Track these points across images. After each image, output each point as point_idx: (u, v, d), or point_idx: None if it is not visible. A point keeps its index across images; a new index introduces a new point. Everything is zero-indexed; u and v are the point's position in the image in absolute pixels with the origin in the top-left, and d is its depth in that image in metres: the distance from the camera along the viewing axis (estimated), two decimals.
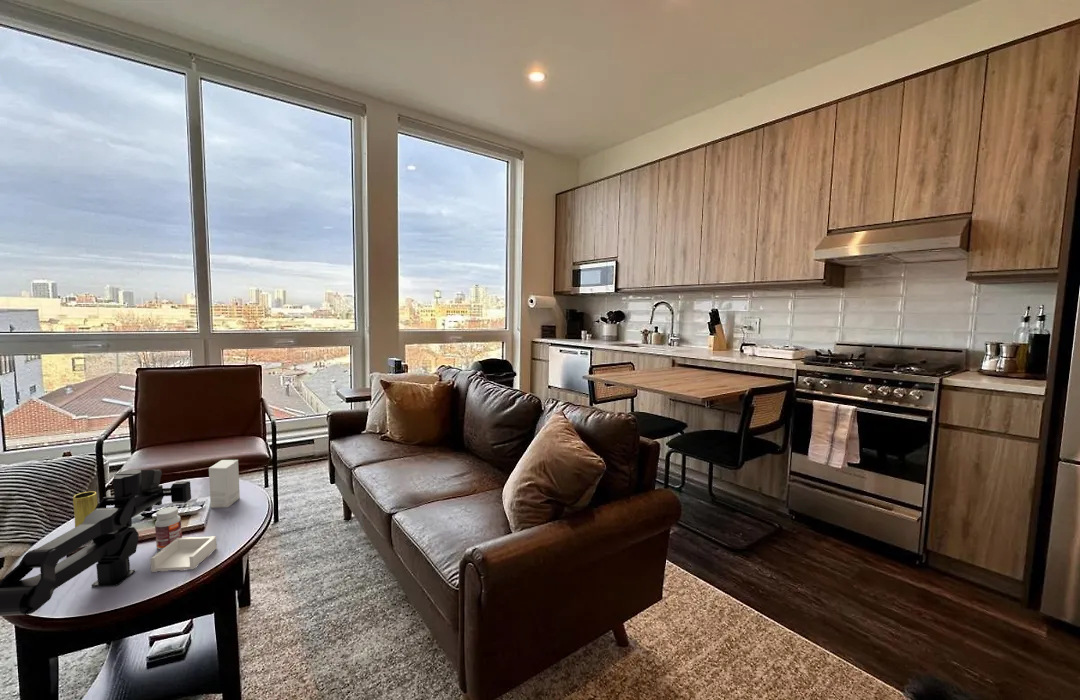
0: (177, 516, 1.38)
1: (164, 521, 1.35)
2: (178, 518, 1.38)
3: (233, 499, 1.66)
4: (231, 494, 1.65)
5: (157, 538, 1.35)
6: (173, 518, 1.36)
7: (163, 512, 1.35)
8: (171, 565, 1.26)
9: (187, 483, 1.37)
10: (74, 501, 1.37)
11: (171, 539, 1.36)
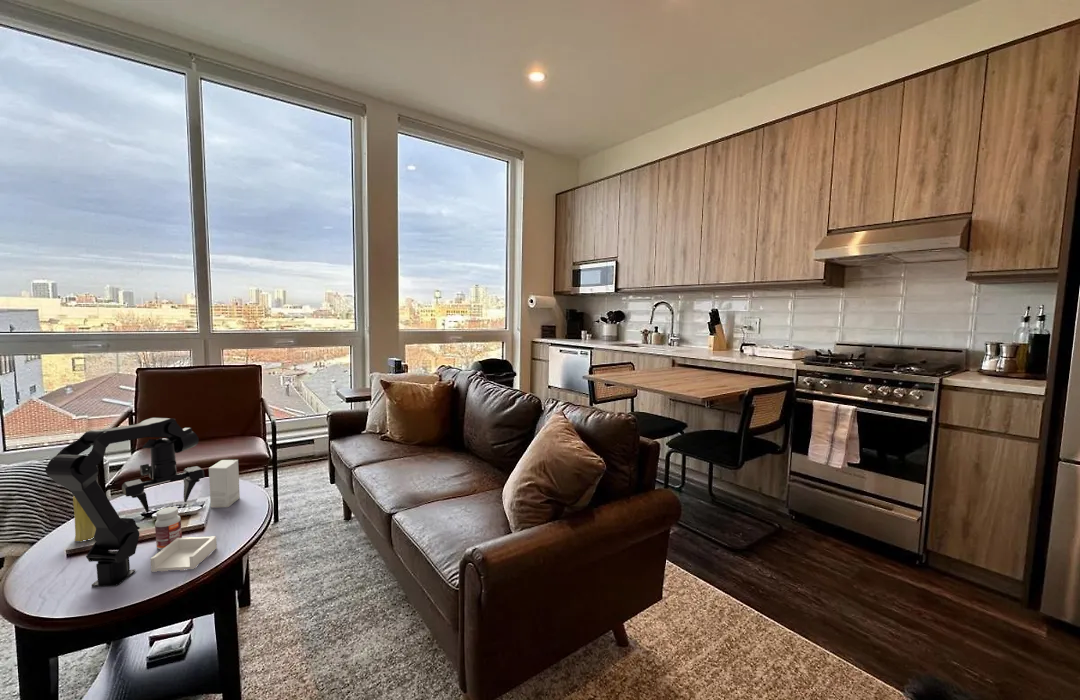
0: (177, 516, 1.38)
1: (164, 521, 1.35)
2: (178, 518, 1.38)
3: (233, 499, 1.66)
4: (231, 494, 1.65)
5: (157, 538, 1.35)
6: (173, 518, 1.36)
7: (163, 512, 1.35)
8: (171, 565, 1.26)
9: None
10: (74, 501, 1.37)
11: (171, 539, 1.36)
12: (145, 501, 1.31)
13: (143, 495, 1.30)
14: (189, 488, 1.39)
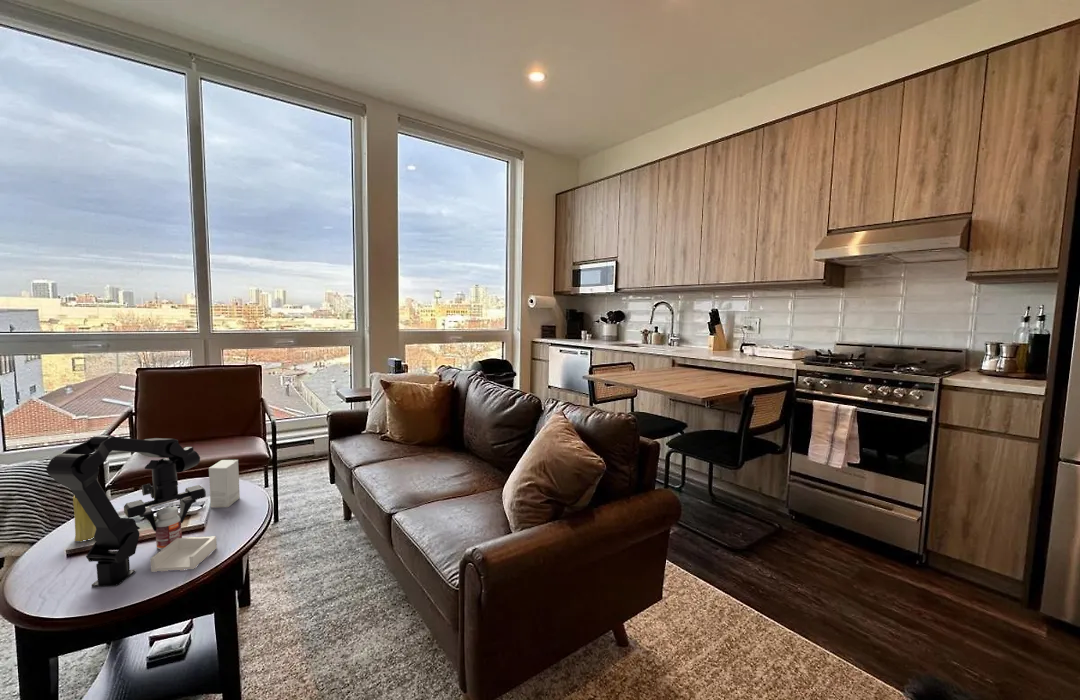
0: (177, 516, 1.38)
1: (164, 521, 1.35)
2: (178, 518, 1.38)
3: (233, 499, 1.66)
4: (231, 494, 1.65)
5: (157, 538, 1.35)
6: (173, 518, 1.36)
7: (163, 512, 1.35)
8: (171, 565, 1.26)
9: None
10: (74, 501, 1.37)
11: (171, 539, 1.36)
12: (153, 520, 1.32)
13: (151, 514, 1.31)
14: (185, 509, 1.39)
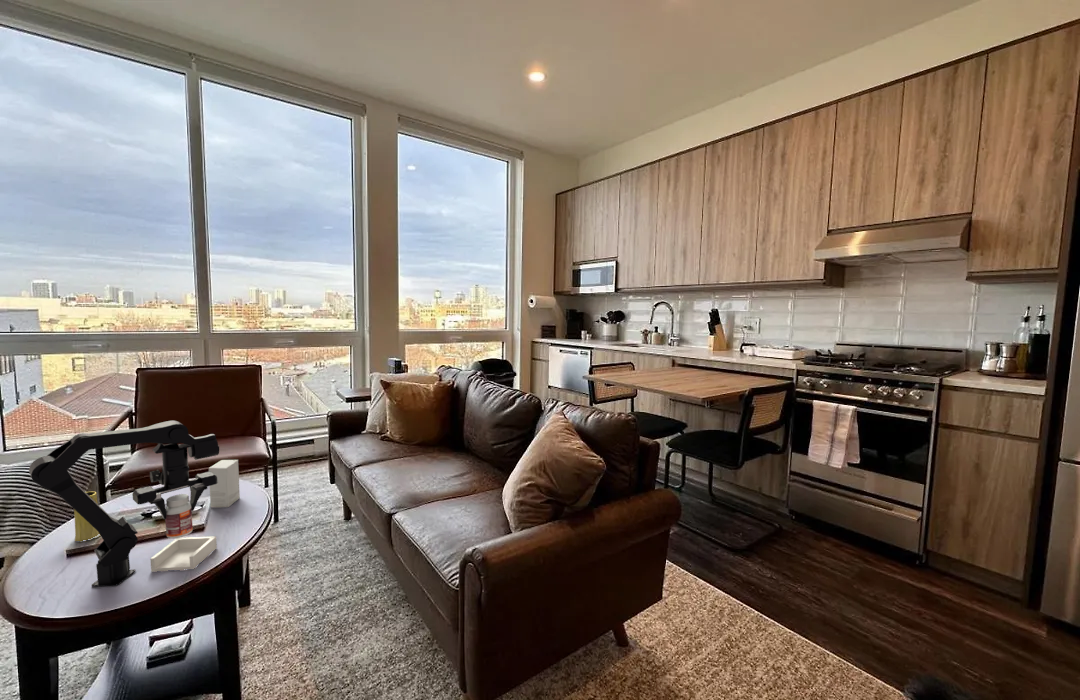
0: (188, 503, 1.32)
1: (175, 508, 1.28)
2: (189, 505, 1.32)
3: (233, 499, 1.66)
4: (231, 494, 1.65)
5: (167, 526, 1.28)
6: (184, 505, 1.30)
7: (174, 499, 1.29)
8: (171, 565, 1.26)
9: None
10: None
11: (182, 528, 1.29)
12: (163, 507, 1.26)
13: (161, 501, 1.25)
14: (196, 496, 1.32)
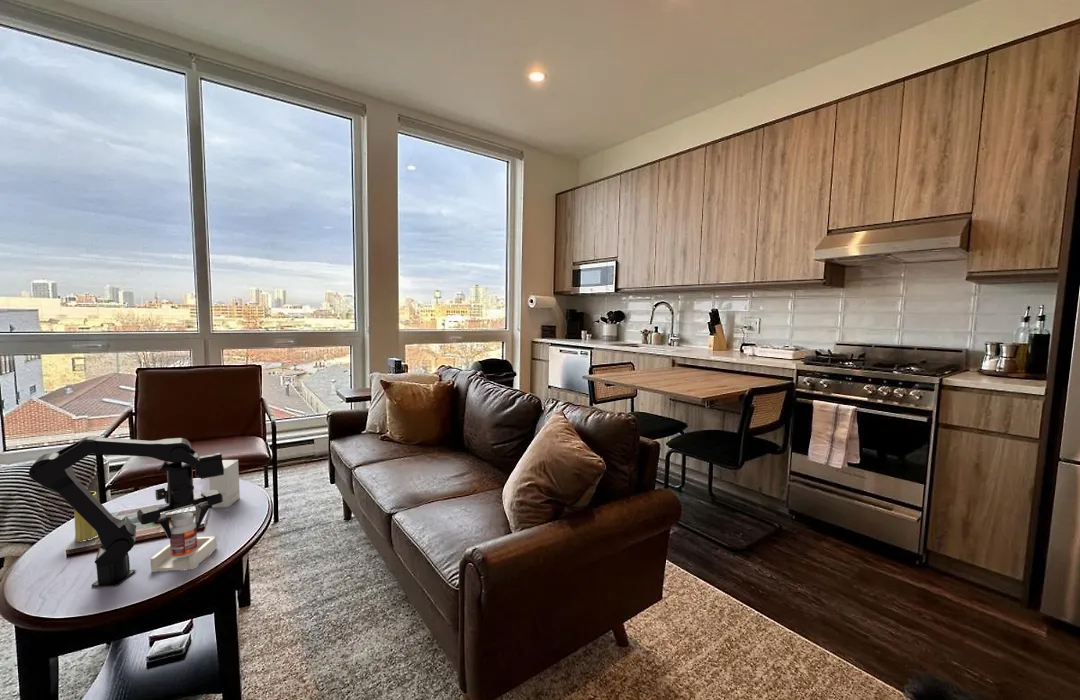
0: (193, 522, 1.30)
1: (179, 528, 1.27)
2: (194, 524, 1.30)
3: (233, 499, 1.66)
4: (231, 494, 1.65)
5: (172, 546, 1.27)
6: (188, 524, 1.29)
7: (178, 519, 1.27)
8: (171, 565, 1.26)
9: None
10: None
11: (186, 547, 1.28)
12: (167, 527, 1.25)
13: (165, 521, 1.24)
14: (201, 515, 1.31)
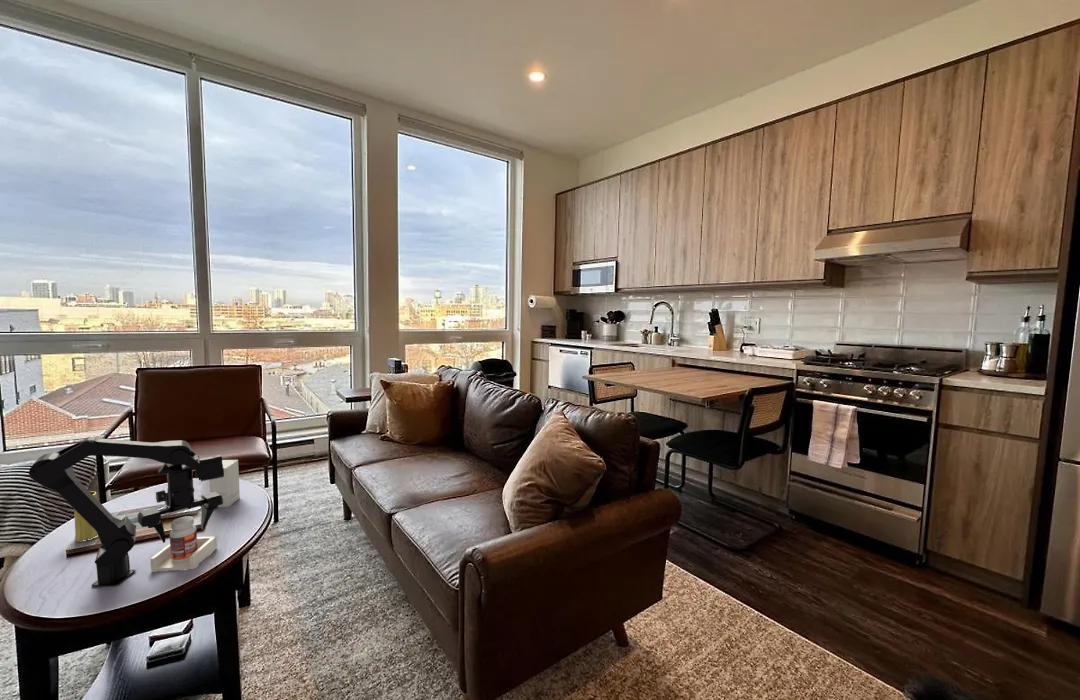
0: (193, 526, 1.30)
1: (179, 532, 1.27)
2: (194, 528, 1.30)
3: (233, 499, 1.66)
4: (231, 494, 1.65)
5: (172, 550, 1.27)
6: (189, 528, 1.29)
7: (178, 522, 1.27)
8: (171, 565, 1.26)
9: None
10: None
11: (186, 551, 1.28)
12: (162, 531, 1.24)
13: (160, 525, 1.23)
14: (207, 515, 1.32)
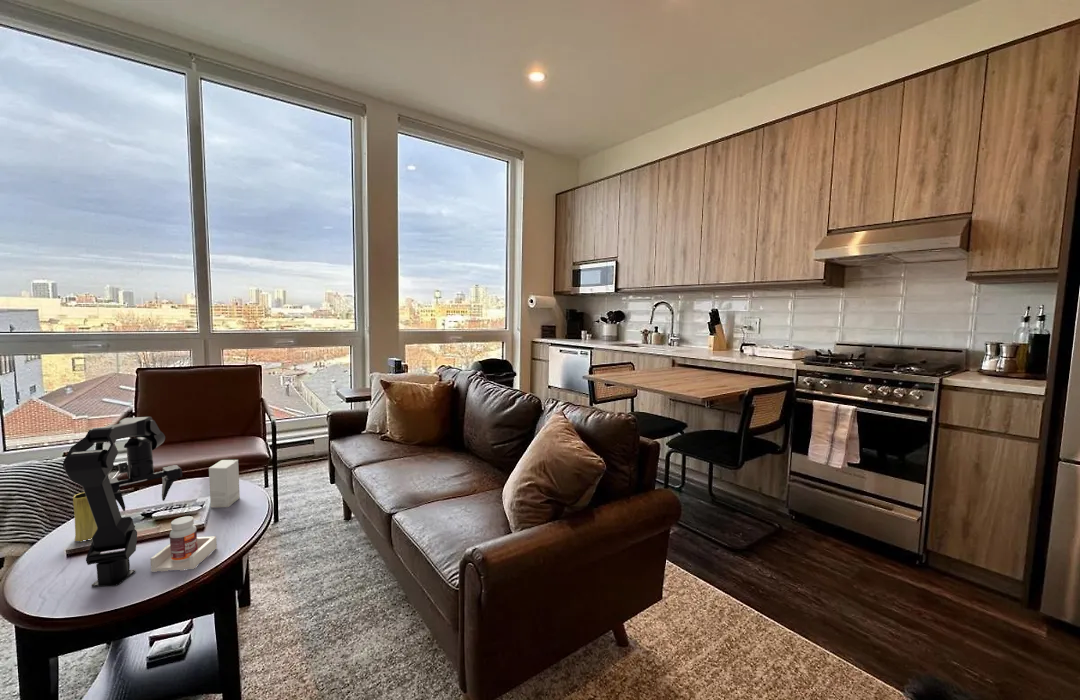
0: (193, 526, 1.30)
1: (179, 532, 1.27)
2: (194, 528, 1.30)
3: (233, 499, 1.66)
4: (231, 494, 1.65)
5: (172, 550, 1.27)
6: (189, 528, 1.29)
7: (178, 522, 1.27)
8: (171, 565, 1.26)
9: None
10: (74, 501, 1.37)
11: (186, 551, 1.28)
12: (121, 500, 1.31)
13: (119, 494, 1.30)
14: (166, 487, 1.39)
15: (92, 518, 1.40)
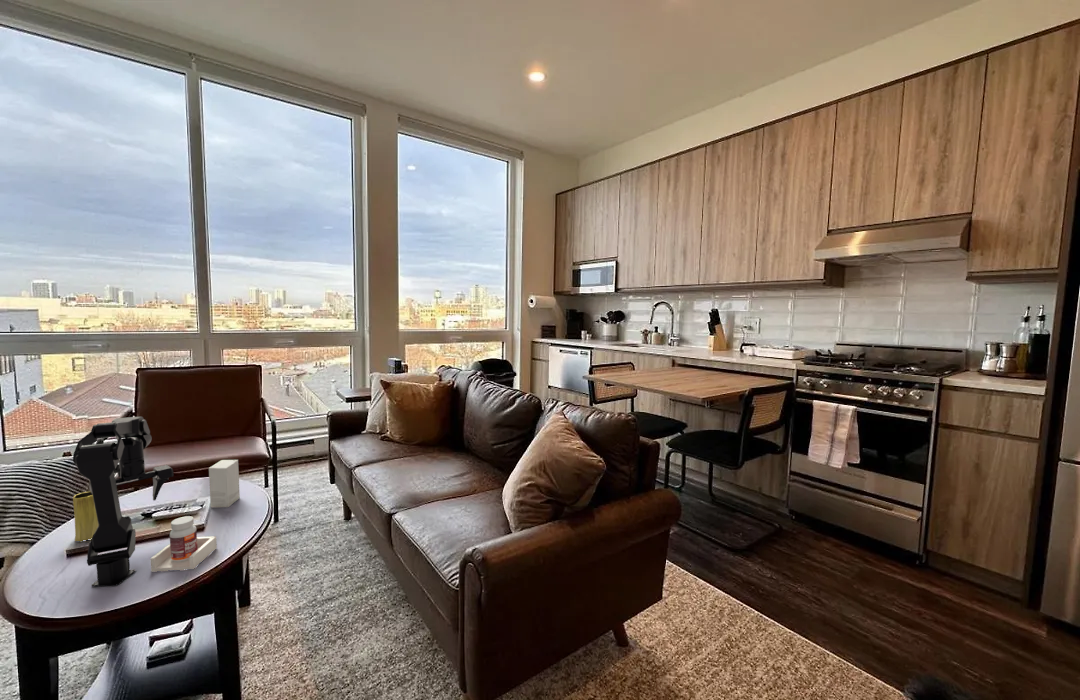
0: (193, 526, 1.30)
1: (179, 532, 1.27)
2: (194, 528, 1.30)
3: (233, 499, 1.66)
4: (231, 494, 1.65)
5: (172, 550, 1.27)
6: (189, 528, 1.29)
7: (178, 522, 1.27)
8: (171, 565, 1.26)
9: None
10: (74, 501, 1.37)
11: (186, 551, 1.28)
12: None
13: None
14: (157, 486, 1.40)
15: (92, 518, 1.40)
